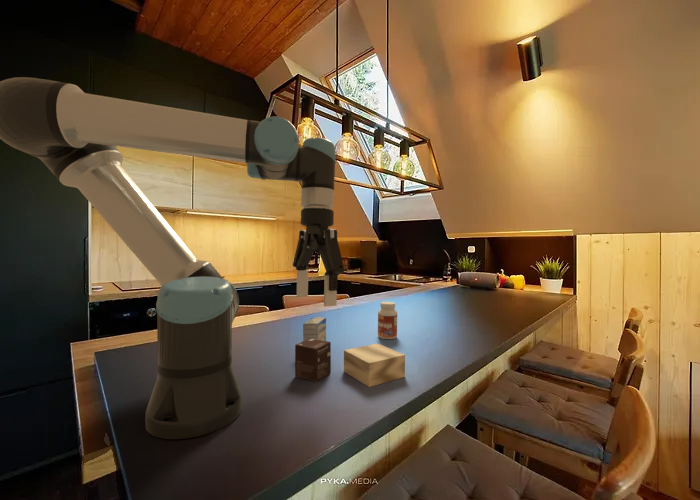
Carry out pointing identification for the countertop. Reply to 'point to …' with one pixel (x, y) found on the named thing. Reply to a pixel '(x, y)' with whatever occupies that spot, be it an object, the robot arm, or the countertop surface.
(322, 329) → the medicine box
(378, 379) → the beech block
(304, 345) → the box
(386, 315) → the pill bottle
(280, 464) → the countertop surface
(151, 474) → the countertop surface
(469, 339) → the countertop surface
